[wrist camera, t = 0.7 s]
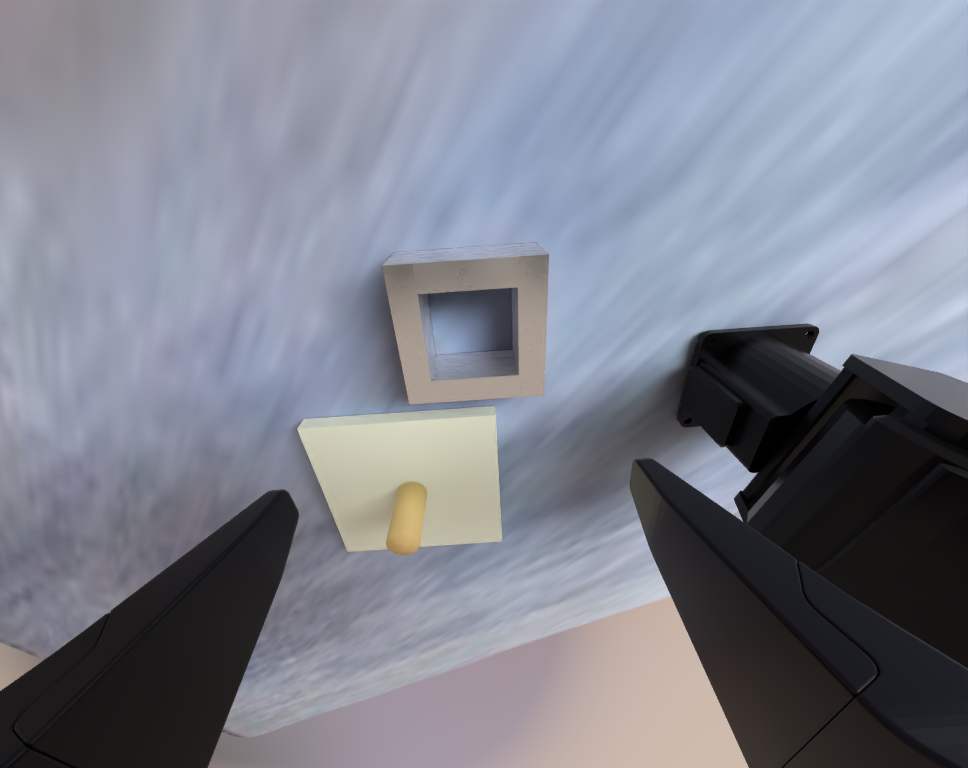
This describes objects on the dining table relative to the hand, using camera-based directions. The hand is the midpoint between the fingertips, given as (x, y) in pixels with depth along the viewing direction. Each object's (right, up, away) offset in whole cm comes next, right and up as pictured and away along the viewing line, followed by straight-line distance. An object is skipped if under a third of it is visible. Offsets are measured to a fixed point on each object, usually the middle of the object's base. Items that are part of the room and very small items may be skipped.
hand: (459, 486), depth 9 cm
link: (0, +6, +10) cm, 12 cm away
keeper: (-4, -4, +16) cm, 17 cm away
